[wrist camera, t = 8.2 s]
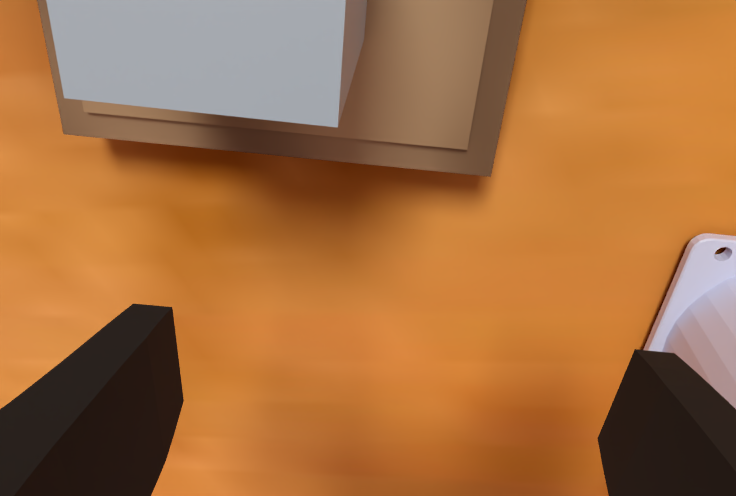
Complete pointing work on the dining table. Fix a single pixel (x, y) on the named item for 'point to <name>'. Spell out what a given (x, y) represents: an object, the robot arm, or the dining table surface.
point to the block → (212, 55)
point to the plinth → (362, 95)
